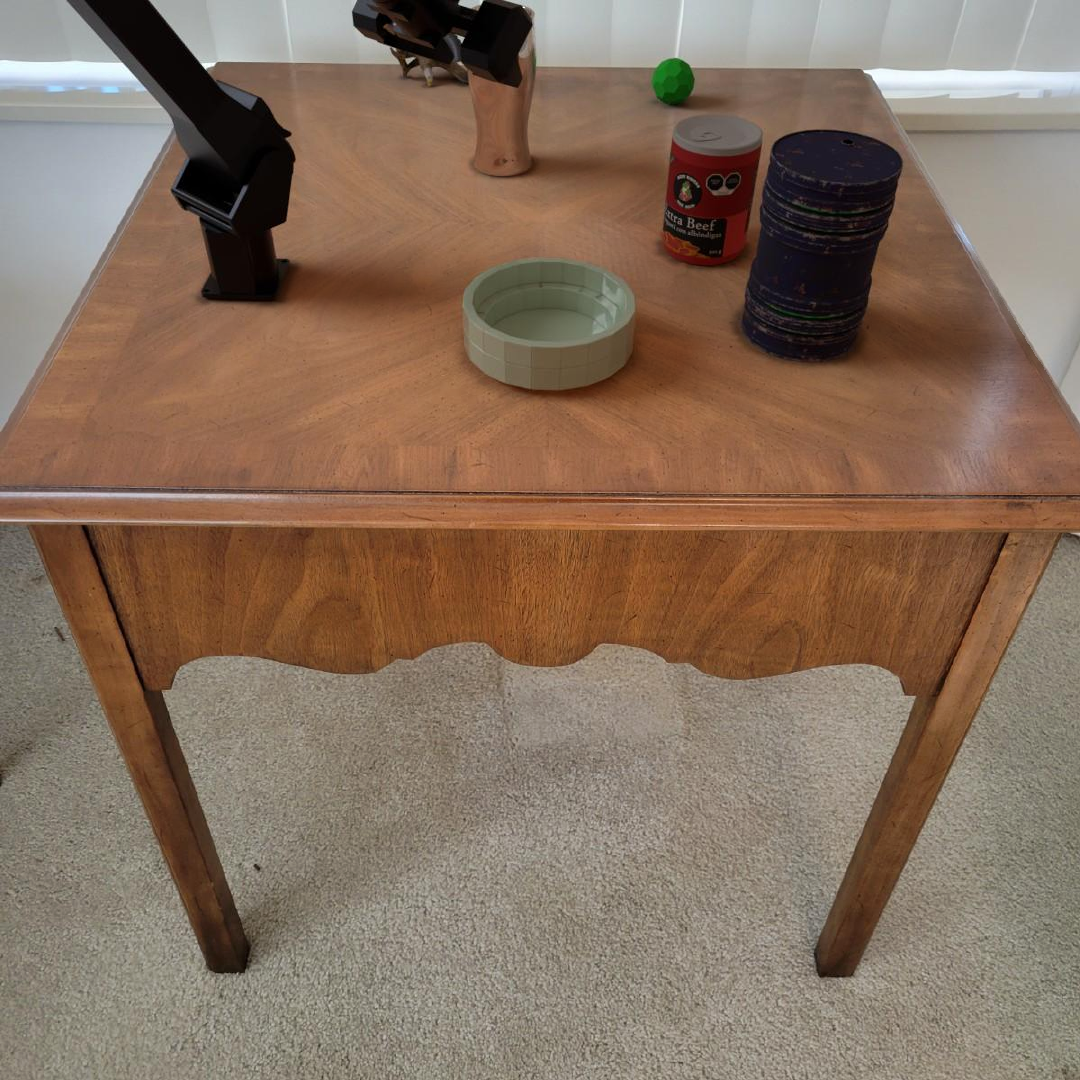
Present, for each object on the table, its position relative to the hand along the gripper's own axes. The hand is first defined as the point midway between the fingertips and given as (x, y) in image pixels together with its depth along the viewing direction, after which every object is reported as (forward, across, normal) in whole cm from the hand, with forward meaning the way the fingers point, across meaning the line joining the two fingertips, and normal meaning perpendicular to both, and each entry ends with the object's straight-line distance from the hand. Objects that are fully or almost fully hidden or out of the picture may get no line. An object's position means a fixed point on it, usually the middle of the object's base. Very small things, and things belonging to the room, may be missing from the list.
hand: (484, 71), depth 100 cm
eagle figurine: (+18, +23, -3) cm, 29 cm away
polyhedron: (+28, -3, -13) cm, 31 cm away
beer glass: (+9, 0, +6) cm, 11 cm away
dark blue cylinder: (+4, -40, +11) cm, 42 cm away
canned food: (+9, -26, +6) cm, 28 cm away
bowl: (-8, -27, +22) cm, 35 cm away
